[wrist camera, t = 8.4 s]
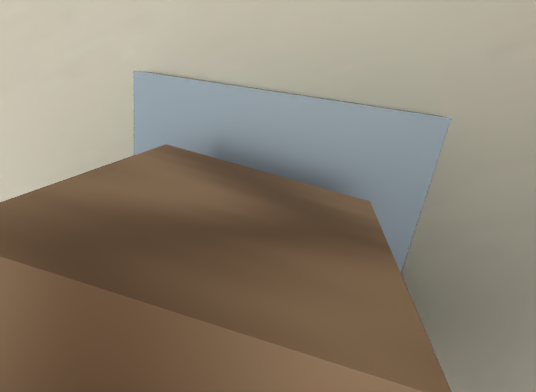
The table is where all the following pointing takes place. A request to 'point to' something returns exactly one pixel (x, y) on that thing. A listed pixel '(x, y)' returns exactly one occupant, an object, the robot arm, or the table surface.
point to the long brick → (202, 285)
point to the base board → (300, 141)
